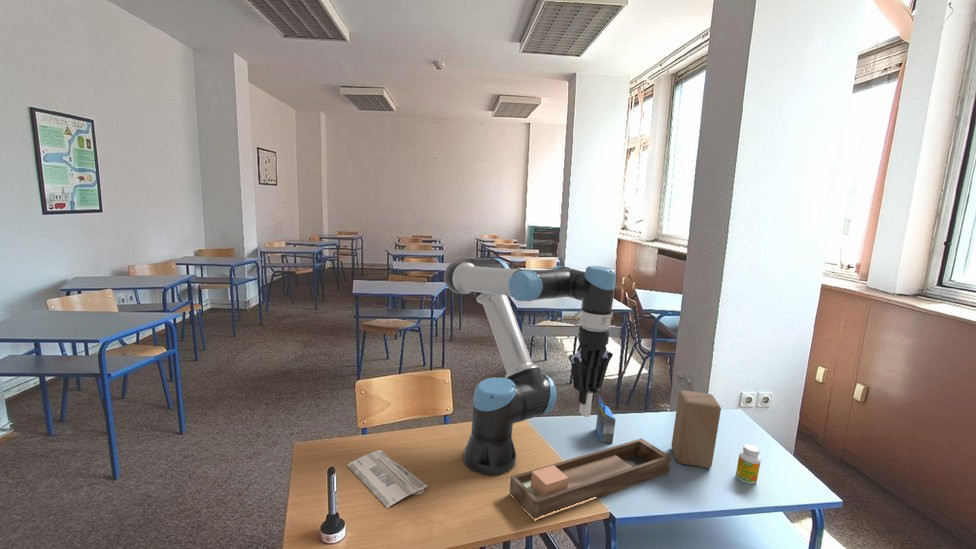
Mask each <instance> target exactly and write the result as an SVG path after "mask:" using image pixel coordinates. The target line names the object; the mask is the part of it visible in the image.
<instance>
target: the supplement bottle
mask: <svg viewBox="0 0 976 549" xmlns="http://www.w3.org/2000/svg"><path fill="white" fill-rule="evenodd" d="M759 455H760V448H758V447H757V446H756V445H753V444H749V443H748V444H747V443H746V444H743V448H742V450H741V451H740V452H739V455H738V460H737V465H736V466H737V467H736V469H735V470H736V472H735V477H736V478H737V479H738V480H739V481H741V482H743V483H744V484H748V485H749V484H750V485H754V484H757V481H758V478H759V472H760V467H761V461H762V459H761V457H760V456H759Z"/></svg>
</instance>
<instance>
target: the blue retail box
mask: <svg viewBox="0 0 976 549" xmlns="http://www.w3.org/2000/svg"><path fill="white" fill-rule="evenodd" d="M597 408H598V409H597V414H596V415H597V416H596V424H595V430H596V433H597V435H598V438H599V440H600V442H601V443H605V444H606V443H607V444H613V442H614V432H615V427H616V426H615V425H616V421H617V420H616V417H615V416H614V414H613V413H612V411H611V409H610V407H609V406H607V405H605V403H604V400H603V399H602V397H601V395H599V396H598V407H597Z"/></svg>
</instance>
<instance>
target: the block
mask: <svg viewBox="0 0 976 549" xmlns="http://www.w3.org/2000/svg"><path fill="white" fill-rule="evenodd" d="M678 392H679V393H678V398H677V405H676V412H675V417H674V418H675V419H674V425H673V430H672V431H673V433H672V438H671V449H672V452H673V454H674V457H675V459H676V462H677V463H678V464H681V465H687V466H692V467H698V468H699V467H700V468H704V469H712V465H713V460H714V455H715V449H716V442H717V436H718V431H719V423H720V417H721V410H722V407H721V405H720V404H719V402H718V401H717V400H716V398H715V397H714V395H713V394H711V393H705V392H697V391H691V390H685V389H684V390H683V389H682V390H680V391H678Z"/></svg>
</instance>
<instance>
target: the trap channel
mask: <svg viewBox="0 0 976 549" xmlns="http://www.w3.org/2000/svg"><path fill="white" fill-rule="evenodd" d="M671 461H672V456H671V455H669V454H668V453H666V452H664V451H663V450H662V449H660V448H659V447H656V446H654V445H653V444H651V443H650V442H649V441H647V440H644V438H642V437H641V438H638V439H635V440H631V441H628V442H625V443H621V444H618V445H614V446H611V447H608V448H604V449H601V450H597V451H593V452H591V453H587V454H583V455H579V456H576V457H573V458H570V459H567V460H563V461H559V462H556V463H553V464H549V465H547V466H542V467H539V468H535V469H531V470H529V471H525V472H522V473H517V474H514V475H512V476H510V483H509V484H510V485H509V493H510V494H511V495H512V496H513V497H514V499H515V500H516V501H517V502H518V503H519V504H520V505H521V506H522V507H523V508H524V509H525V510H526V511H527V512H528V513H529V514H530V515H531V516H532V517H533V518H534V519H535V518H538V517H540V516H542V515H546V514H548V513H551V512H553V511H557V510H560V509H562V508H565V507H568V506H571V505H574V504H576V503H579V502H582V501H585V500H588V499H590V498H593V497H597V498H598V499H600V498H603V497H606V496H609V495H612V494H613V493H614V494H615V493H616V492H619V491H622V490H626V489H628V488H630V487H633V486H636V485H637V486H638V485H639V484H641V483H645V482H647V481H649V480H650V481H651V480H653V479H655V478H659V477H662V476H664V475H666V474H670V470H671V463H672V462H671ZM552 465H554V466H555V467H557V468H558V469H559V470H560V471H561V472H562V473H564V474H565V475H566V476H567V477H568V487H567V489H565V490H562V491H559V492H556V493H553V494H550V495H547V496H544V497H541V496H540V495H539V494H538V493H537V492H536V491H535V490H534V489H533V488H532V487H531V476H532V471H535V470H539V469H542V468H545V467H549V466H552ZM510 494H509V495H510ZM511 495H510V496H511ZM512 496H511V497H512ZM514 499H513V500H514ZM515 500H514V501H515ZM516 501H515V502H516ZM517 502H516V503H517ZM518 503H517V504H518ZM519 504H518V505H519ZM520 505H519V506H520ZM521 506H520V507H521ZM522 507H521V508H522Z"/></svg>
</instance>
